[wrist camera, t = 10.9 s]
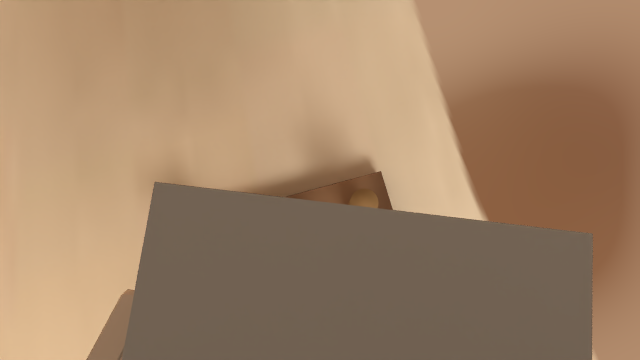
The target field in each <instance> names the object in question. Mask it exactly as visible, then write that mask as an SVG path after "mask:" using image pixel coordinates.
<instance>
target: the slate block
mask: <svg viewBox="0 0 640 360" xmlns="http://www.w3.org/2000/svg"><path fill="white" fill-rule="evenodd" d="M592 247H593V234H591V233H582V232H574V231H565V230H557V229H548V228H539V227H532V226H523V225H514V224H506V223H498V222H489V221H481V220H472V219H464V218H455V217H447V216H439V215H430V214H422V213H413V212H405V211H396V210H388V209H379V208H371V207H362V206H354V205H345V204H337V203H329V202H320V201H312V200H303V199H295V198H286V197H278V196H269V195H261V194H252V193H244V192H235V191H227V190H219V189H210V188H202V187H193V186H185V185H176V184H168V183H159V182H155V184H154V189H153V194H152V200H151V205H150V211H149V216H148V221H147V227H146V232H145V237H144V243H143V248H142V254H141V259H140V264H139V270H138V275H137V281H136V286H135V291H134V297H133V302H132V308H131V313H130V318H129V324H128V329H127V334H126V340H125V345H124V351H123V356H122V360H592V262H593V255H592V253H593V248H592Z"/></svg>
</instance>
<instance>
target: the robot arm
mask: <svg viewBox="0 0 640 360" xmlns="http://www.w3.org/2000/svg"><path fill="white" fill-rule="evenodd" d="M134 291H135V290H130V289H128V290H126V291H125V292H124V293H123V294H122V295H121V297H120V299H119V300H118V302H117V304H116V306H115V308H114V310H113V311H112V313H111V315H110V317H109V319H108V321H107V323H106V324H105V326H104V328H103V330H102V332H101V334H100V336H99V337H98V339H97V341H96V343H95V345H94V347H93V349H92V350H91V352H90V354H89V356H88V358H87V360H122V356H123V351H124V345H125V340H126V334H127V329H128V324H129V318H130V313H131V308H132V302H133V297H134Z"/></svg>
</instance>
